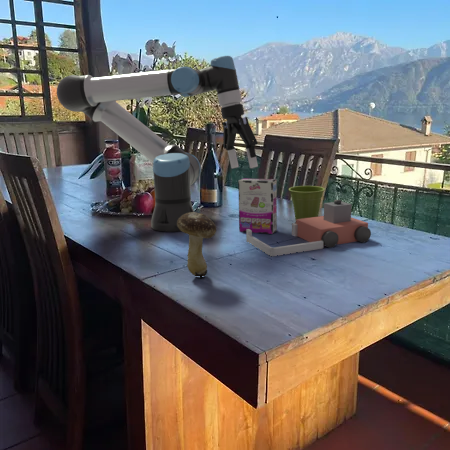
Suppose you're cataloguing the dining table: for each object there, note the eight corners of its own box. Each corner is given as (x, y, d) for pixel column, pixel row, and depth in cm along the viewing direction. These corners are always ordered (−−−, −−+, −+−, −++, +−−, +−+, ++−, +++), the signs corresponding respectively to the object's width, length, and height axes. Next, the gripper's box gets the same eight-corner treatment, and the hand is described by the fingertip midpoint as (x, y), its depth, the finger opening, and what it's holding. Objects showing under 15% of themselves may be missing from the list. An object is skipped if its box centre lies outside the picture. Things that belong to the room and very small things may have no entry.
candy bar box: (277, 230, 142) (277, 178, 138) (272, 234, 138) (273, 181, 133) (243, 227, 146) (243, 177, 142) (238, 231, 142) (237, 179, 138)
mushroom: (179, 271, 108) (176, 210, 105) (215, 269, 109) (214, 208, 105) (179, 286, 99) (176, 219, 95) (218, 284, 100) (216, 218, 96)
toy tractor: (271, 256, 117) (271, 215, 114) (244, 240, 132) (244, 203, 129) (371, 241, 129) (373, 203, 126) (336, 227, 144) (337, 193, 141)
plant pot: (297, 215, 161) (298, 184, 158) (329, 219, 154) (330, 187, 151) (281, 222, 151) (282, 189, 149) (314, 227, 145) (315, 193, 142)
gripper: (259, 97, 141) (272, 164, 145) (224, 107, 163) (236, 165, 168) (239, 102, 138) (252, 170, 142) (206, 111, 160) (219, 170, 165)
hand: (244, 167), depth 155 cm, fingers open, 13 cm apart
